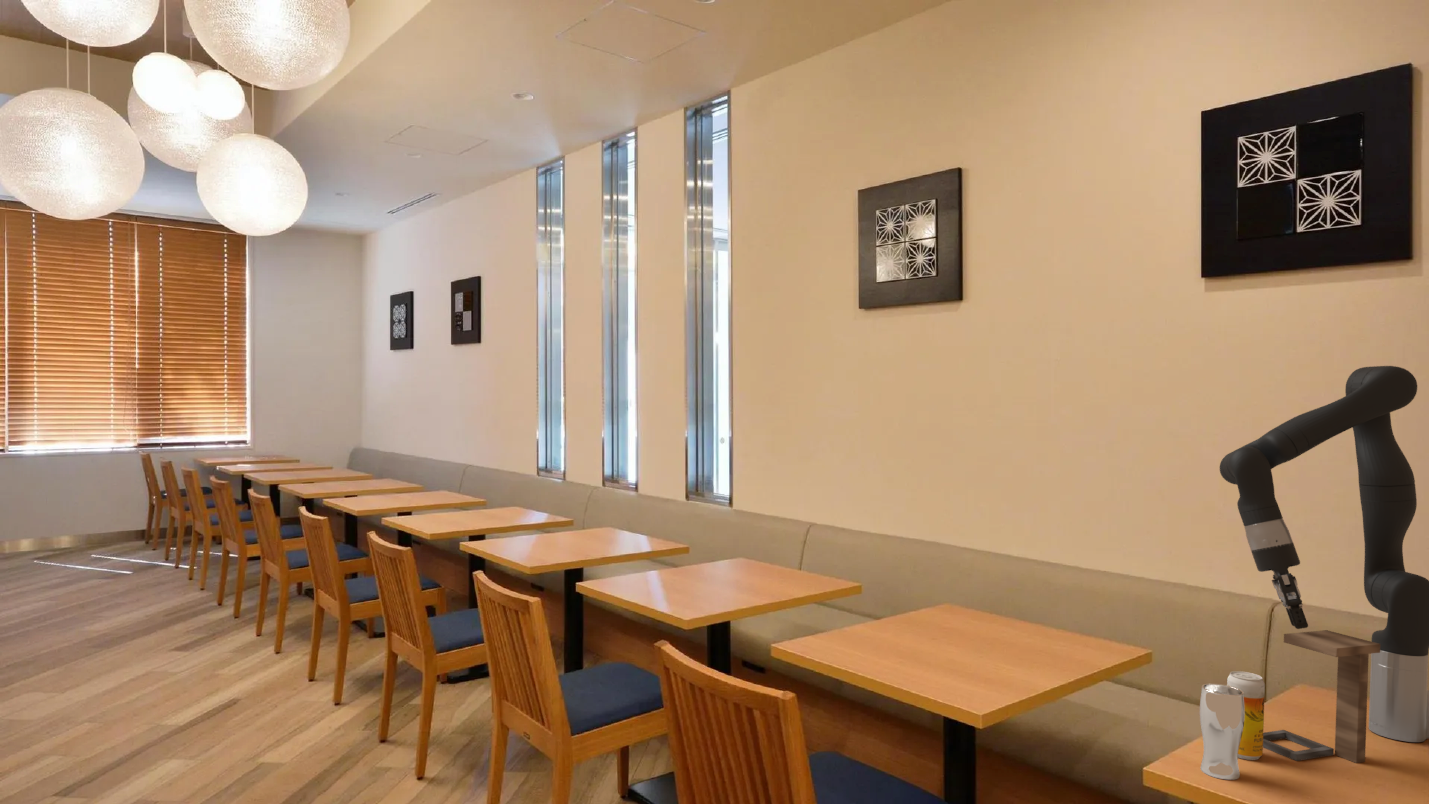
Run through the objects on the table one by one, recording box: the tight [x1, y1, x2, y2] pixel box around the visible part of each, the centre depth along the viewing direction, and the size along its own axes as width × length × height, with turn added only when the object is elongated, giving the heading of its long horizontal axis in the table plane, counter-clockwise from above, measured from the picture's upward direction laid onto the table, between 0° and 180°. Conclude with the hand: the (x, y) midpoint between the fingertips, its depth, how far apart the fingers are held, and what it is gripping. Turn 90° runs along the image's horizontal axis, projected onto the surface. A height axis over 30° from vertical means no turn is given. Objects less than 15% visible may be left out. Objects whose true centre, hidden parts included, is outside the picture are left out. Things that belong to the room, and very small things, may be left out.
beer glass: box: [1199, 683, 1245, 781], centre depth 158 cm, size 7×7×15 cm
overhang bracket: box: [1263, 629, 1380, 764], centre depth 169 cm, size 13×16×23 cm
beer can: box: [1226, 670, 1266, 761], centre depth 167 cm, size 6×6×15 cm
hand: (1300, 626), depth 174 cm, fingers open, 8 cm apart
